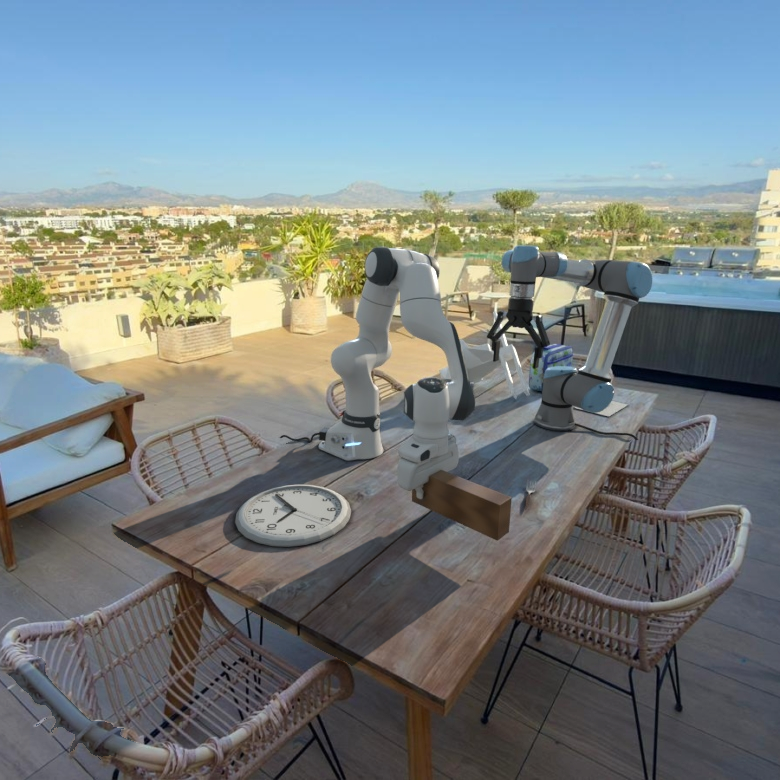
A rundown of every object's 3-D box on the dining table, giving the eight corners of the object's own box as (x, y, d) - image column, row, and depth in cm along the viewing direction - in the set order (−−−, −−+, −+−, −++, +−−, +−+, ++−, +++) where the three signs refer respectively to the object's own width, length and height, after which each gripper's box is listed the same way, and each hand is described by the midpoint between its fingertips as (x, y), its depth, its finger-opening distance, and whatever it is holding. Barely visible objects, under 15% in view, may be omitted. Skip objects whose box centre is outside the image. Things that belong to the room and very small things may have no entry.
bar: (509, 532, 122) (511, 497, 119) (497, 541, 118) (499, 505, 116) (424, 494, 139) (424, 463, 136) (411, 501, 135) (412, 469, 133)
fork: (520, 510, 142) (521, 503, 141) (526, 484, 156) (527, 478, 155) (530, 512, 141) (531, 505, 140) (535, 486, 155) (536, 480, 154)
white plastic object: (461, 429, 252) (437, 405, 227) (444, 352, 274) (420, 323, 250) (535, 404, 240) (518, 377, 215) (510, 326, 262) (492, 293, 237)
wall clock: (351, 538, 125) (223, 542, 122) (351, 544, 125) (223, 548, 123) (350, 480, 153) (246, 482, 151) (350, 485, 154) (246, 487, 151)
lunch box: (545, 396, 239) (550, 351, 232) (524, 391, 246) (528, 347, 240) (572, 385, 256) (577, 343, 250) (552, 380, 263) (557, 339, 257)
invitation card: (608, 416, 214) (573, 407, 224) (608, 416, 214) (573, 408, 224) (628, 404, 229) (594, 396, 238) (628, 405, 229) (594, 397, 238)
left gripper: (446, 429, 139) (444, 476, 143) (393, 451, 125) (392, 503, 129) (465, 435, 135) (462, 483, 139) (413, 459, 121) (412, 512, 125)
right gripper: (479, 294, 165) (474, 360, 171) (556, 302, 151) (548, 373, 157) (490, 292, 171) (485, 356, 177) (565, 300, 157) (557, 368, 163)
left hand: (428, 493), depth 134 cm, fingers closed on bar, 5 cm apart
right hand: (515, 364), depth 167 cm, fingers open, 13 cm apart
